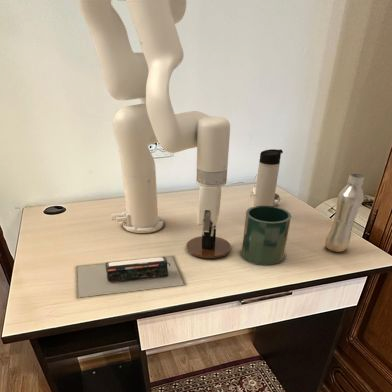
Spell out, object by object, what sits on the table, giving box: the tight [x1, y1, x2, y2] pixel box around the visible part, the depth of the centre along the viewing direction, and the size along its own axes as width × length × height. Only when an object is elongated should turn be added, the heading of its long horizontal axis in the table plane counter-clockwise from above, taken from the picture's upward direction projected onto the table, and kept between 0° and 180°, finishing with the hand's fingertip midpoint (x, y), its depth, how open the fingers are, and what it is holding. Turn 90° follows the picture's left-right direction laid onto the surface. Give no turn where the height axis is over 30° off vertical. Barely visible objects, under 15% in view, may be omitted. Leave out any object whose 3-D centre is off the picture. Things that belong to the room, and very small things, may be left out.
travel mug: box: [253, 148, 284, 207], centre depth 115 cm, size 6×7×20 cm
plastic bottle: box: [325, 173, 365, 253], centre depth 98 cm, size 6×7×20 cm
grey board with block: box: [77, 256, 185, 298], centre depth 90 cm, size 14×25×4 cm, turn 104°
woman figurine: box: [248, 185, 281, 207], centre depth 132 cm, size 12×4×18 cm
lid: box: [185, 228, 232, 259], centre depth 101 cm, size 13×13×6 cm
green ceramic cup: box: [241, 206, 292, 266], centre depth 97 cm, size 12×12×12 cm
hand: (208, 244), depth 102 cm, fingers open, 3 cm apart
